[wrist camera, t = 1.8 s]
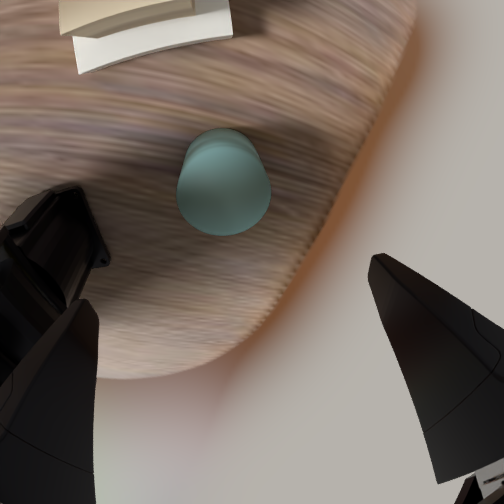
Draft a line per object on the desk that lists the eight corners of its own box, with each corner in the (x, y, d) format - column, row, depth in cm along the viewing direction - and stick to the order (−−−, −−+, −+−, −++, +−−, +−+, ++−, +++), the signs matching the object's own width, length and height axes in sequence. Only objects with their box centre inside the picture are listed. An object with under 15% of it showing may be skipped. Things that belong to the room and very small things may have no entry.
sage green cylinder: (261, 189, 18) (274, 228, 15) (192, 201, 18) (188, 242, 14) (253, 123, 15) (266, 143, 12) (177, 135, 15) (166, 161, 12)
